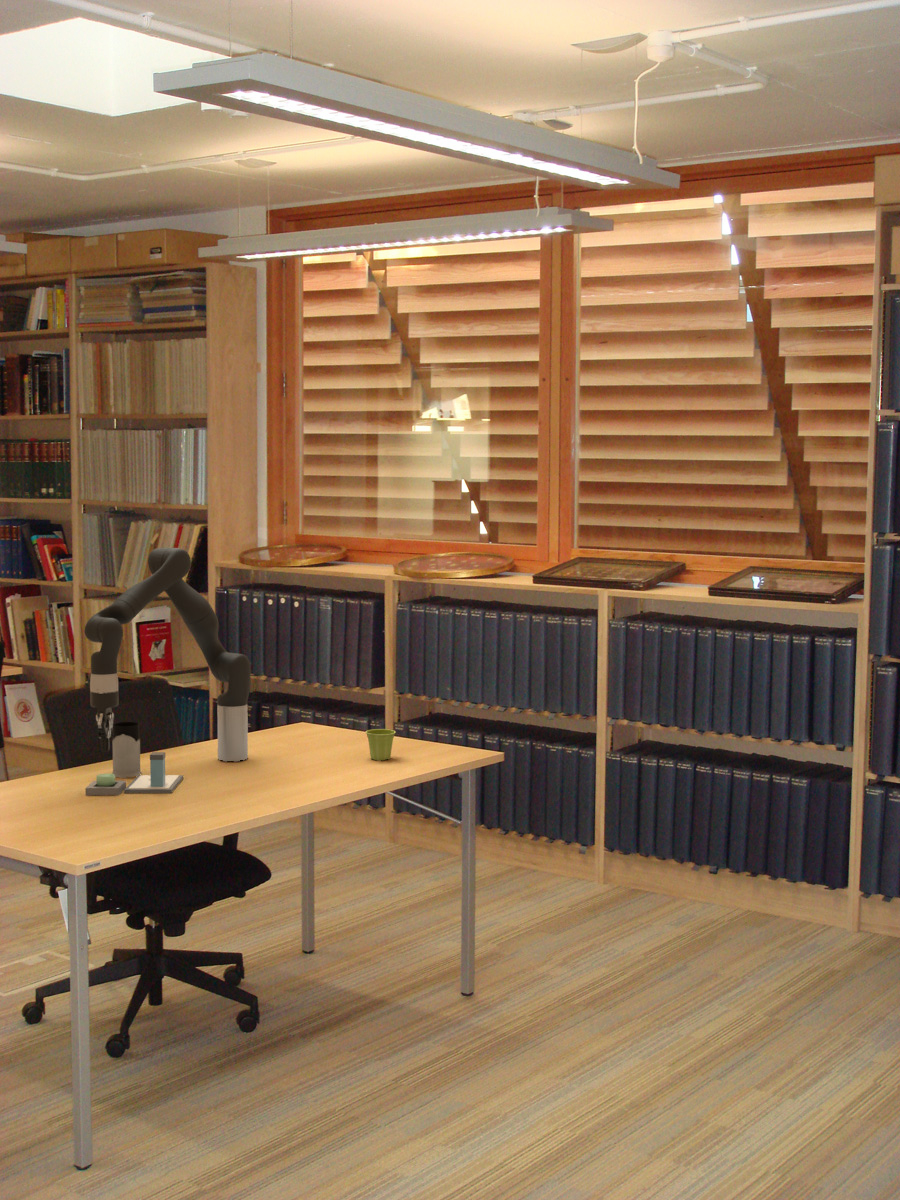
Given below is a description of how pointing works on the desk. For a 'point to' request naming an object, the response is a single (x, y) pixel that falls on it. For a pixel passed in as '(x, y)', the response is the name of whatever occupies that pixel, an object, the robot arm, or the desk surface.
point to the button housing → (105, 788)
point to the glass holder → (126, 749)
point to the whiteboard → (144, 784)
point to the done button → (105, 779)
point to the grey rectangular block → (157, 769)
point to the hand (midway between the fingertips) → (105, 751)
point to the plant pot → (380, 743)
